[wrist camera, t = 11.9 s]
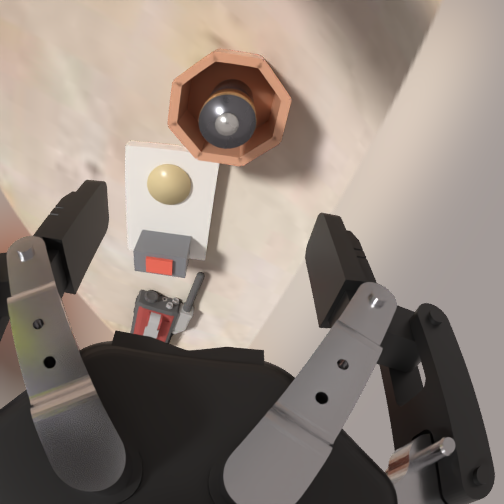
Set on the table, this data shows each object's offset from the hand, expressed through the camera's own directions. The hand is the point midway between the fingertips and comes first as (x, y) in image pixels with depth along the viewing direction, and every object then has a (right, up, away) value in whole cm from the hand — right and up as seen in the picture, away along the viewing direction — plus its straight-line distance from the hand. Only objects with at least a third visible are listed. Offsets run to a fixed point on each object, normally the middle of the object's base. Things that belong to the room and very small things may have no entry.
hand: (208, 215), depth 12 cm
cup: (0, +14, +17) cm, 22 cm away
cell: (0, +13, +16) cm, 21 cm away
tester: (-8, +5, +24) cm, 26 cm away
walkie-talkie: (-12, -9, +36) cm, 39 cm away
